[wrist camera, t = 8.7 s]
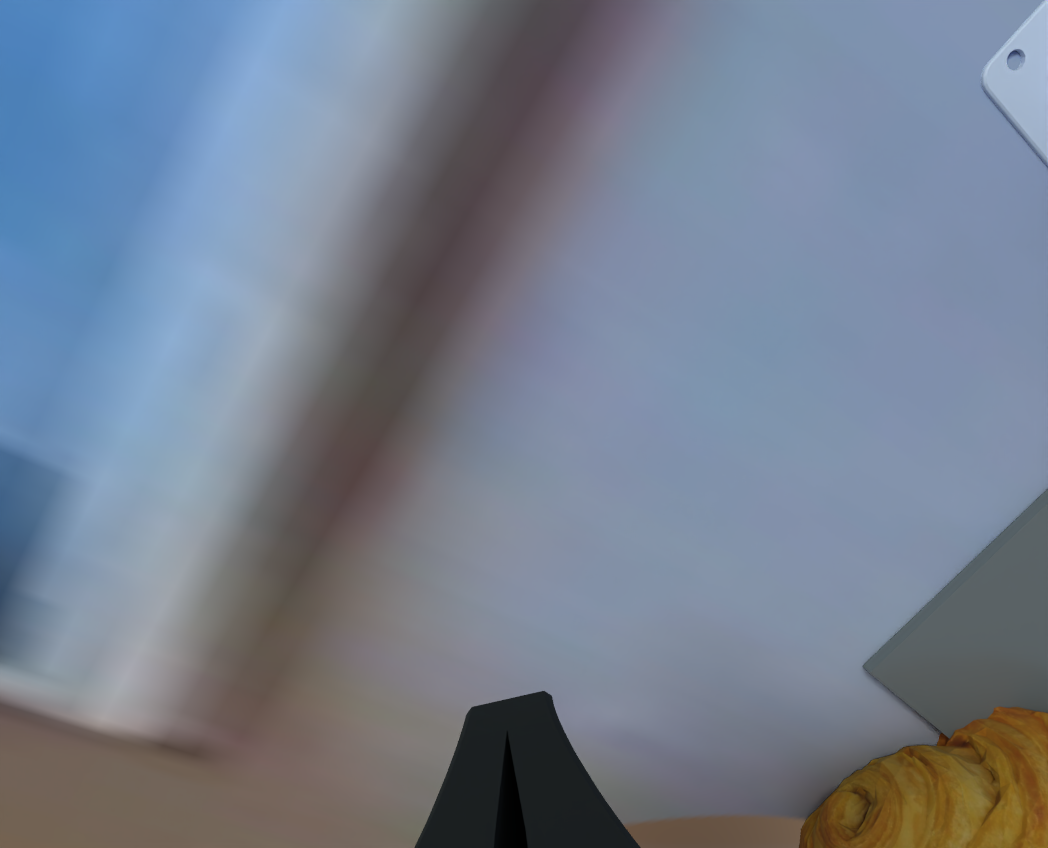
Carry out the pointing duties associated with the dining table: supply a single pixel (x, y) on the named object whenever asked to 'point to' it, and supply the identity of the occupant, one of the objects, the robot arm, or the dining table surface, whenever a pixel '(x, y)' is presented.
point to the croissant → (947, 792)
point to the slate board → (979, 634)
